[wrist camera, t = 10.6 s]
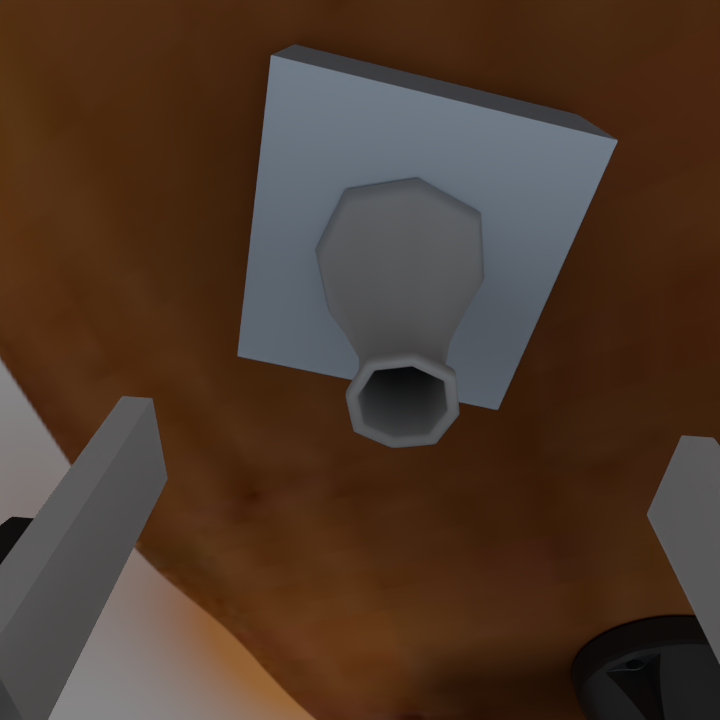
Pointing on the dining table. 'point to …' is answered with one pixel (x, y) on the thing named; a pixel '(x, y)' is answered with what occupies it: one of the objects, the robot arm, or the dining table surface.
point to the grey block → (404, 162)
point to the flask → (401, 303)
